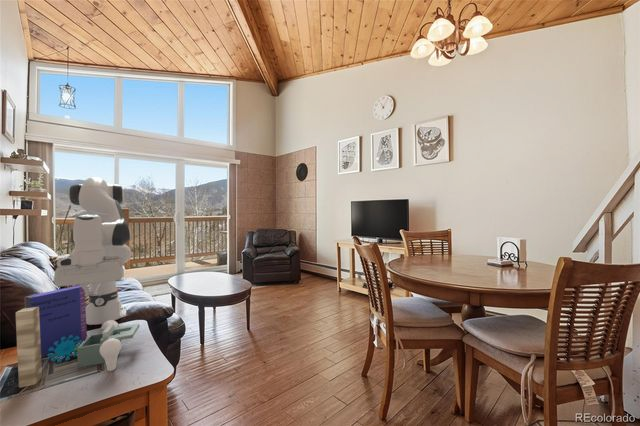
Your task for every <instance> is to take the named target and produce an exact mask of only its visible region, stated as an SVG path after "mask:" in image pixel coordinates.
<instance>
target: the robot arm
mask: <svg viewBox="0 0 640 426" xmlns="http://www.w3.org/2000/svg"><path fill="white" fill-rule="evenodd" d="M67 196H68V199H69V201H70V203H71V204H72V205H76V206H80V207H81V208H82V210H84V211H86V214H81V215H77V216H76V217H74V220H73V227H72V229H71V231H70V241H71V244H73V245H74V249H73V250H72V251H71V252H70V254H69V256H67V257H64V258H61V259H59V260H57V261H56V266H57V268H56V269H55V271H54V276H53V281H54V282H53V283H54V286H56V287H57V288H58V287H69V286H70V287H71V286H78V285H82V288H83V289H84V291H85V297H87V296H88V304H87V305H85V306H86V325H89V326H90V325H91V326H92V325H95V326H96V325H103V323H105V322H106V321H108V320H113V321H116V320H119V319H122V318H124V317H125V318H126V316H127V311H126V309H127V308H126V309H123V308H124V307H123V306H122V305H123V304H122V300H121V299H120V298H119V293H118V292H119V290H118V289H117V281H120V280H122V279H123V278H124V277H125V274H124V268H123V267H124V264H125V263H128V262H129V261H130V260H131V258H132V249H131V248H130V247H129V246H128V245H127V243H128V242H129V241H130V240H131V237H132V230H131V228H130V226H129V223H128V222H127V221H126V217H125V214H124V212H123V209H122V206H121V203H123V201H124V200H125V196H126V195H125V190H124V189H123V187H122V185H120V184H115V183H113V184H110V183H107V182H106V181H105V180H104V179H102V178H100V177H88V178H87V179H85V180H84V181H83V183H82V184H81V183H76V184H73V185H71V186H70V187H69V189H68V192H67Z"/></svg>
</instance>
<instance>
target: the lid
mask: <svg viewBox="0 0 640 426" xmlns="http://www.w3.org/2000/svg"><path fill="white" fill-rule="evenodd" d="M139 328H140V323H133V324H128V325H123V326H118V327H115V328H114V324H112V325H109V326H108V327H107V328H106V329H105V330H104V332H103V333H102V334H103V338H102V339H101V340H100V344H101V343H103V342H105V341H106V340H108V339H111V338H115V339H118V340H121V341H123V340H128V339H133V338H134V336H135V334H136V333H137V331H138V329H139ZM117 332H120V334H118V335H113V334H114V333H117ZM123 332H125V333H123Z"/></svg>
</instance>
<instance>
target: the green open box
mask: <svg viewBox="0 0 640 426" xmlns="http://www.w3.org/2000/svg"><path fill="white" fill-rule="evenodd" d="M118 334H121V332H117V333H114V334H113V335H118ZM102 338H103V334H102V333H101V332H100V333H95V334H89V335H88V336H87V339H86V340H85V341H84V342H82V344H79V345H78V346H79V347H78V348H77V355H76V357H77V369H79V368H85V367H89V366H94V365H95V366H96V365H99V364H100V365H101V364H106V362H105V360H104V358H103V357H102V356H101V354H100V346H101V345H102V344H103V343H101V344H100V340H101V339H102ZM119 341H120V342H121V343H122V340H119Z"/></svg>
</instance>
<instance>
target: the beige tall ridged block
mask: <svg viewBox="0 0 640 426" xmlns="http://www.w3.org/2000/svg"><path fill="white" fill-rule="evenodd" d="M15 326H16V327H15V328H16V329H15V330H16V331H15V333H16V352H17V354H16V356H17V373H18V388H24V387H25V388H26V387H29V386H34V385H36V384H37V383H39V381H40V380H41V379H42V378H43V369H42V367H43V365H42V357H41V342H40V320H39V307H32V308H25V307H24V308H22V309H19V310H18V311H16V312H15Z"/></svg>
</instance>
